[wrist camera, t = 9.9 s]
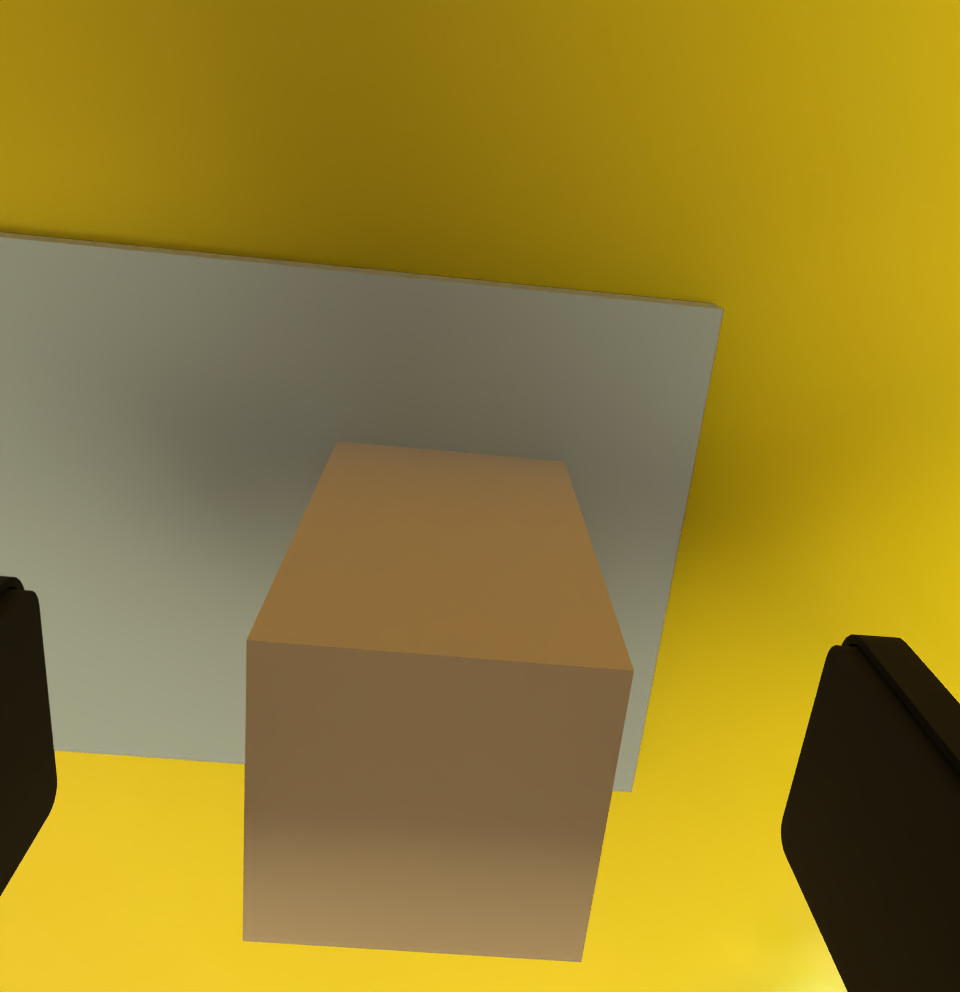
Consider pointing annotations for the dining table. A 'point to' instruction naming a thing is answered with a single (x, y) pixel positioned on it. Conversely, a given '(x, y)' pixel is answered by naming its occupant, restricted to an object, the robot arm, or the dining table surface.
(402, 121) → the dining table surface
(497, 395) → the cover plate
